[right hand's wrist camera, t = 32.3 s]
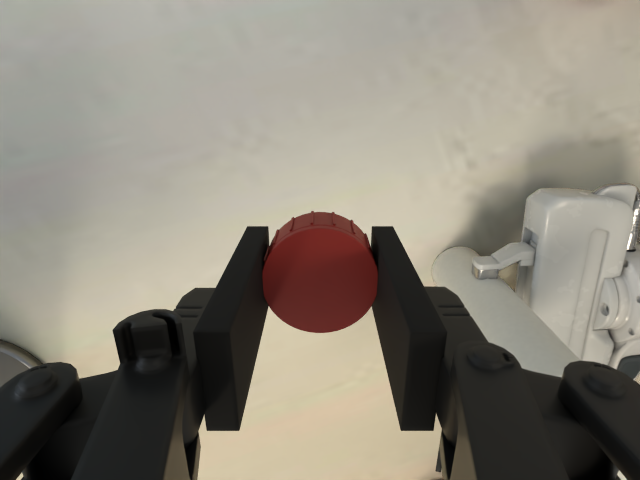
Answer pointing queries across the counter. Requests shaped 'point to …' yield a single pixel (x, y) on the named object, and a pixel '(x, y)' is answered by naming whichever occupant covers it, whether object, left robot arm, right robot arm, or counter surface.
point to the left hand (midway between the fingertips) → (471, 302)
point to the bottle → (503, 315)
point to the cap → (320, 273)
